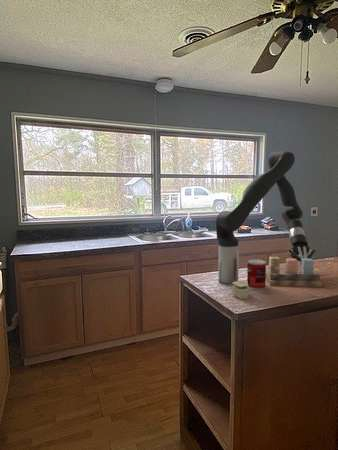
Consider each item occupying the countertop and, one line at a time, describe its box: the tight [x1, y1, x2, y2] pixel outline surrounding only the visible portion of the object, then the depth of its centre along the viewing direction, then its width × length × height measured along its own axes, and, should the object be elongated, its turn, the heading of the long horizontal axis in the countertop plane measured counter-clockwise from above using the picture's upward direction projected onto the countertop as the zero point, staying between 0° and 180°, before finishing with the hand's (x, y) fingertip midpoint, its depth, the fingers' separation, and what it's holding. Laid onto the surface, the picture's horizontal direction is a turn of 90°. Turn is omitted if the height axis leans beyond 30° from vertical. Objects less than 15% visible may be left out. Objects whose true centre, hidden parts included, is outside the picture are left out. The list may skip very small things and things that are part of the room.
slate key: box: [300, 258, 315, 274], centre depth 130 cm, size 4×4×8 cm
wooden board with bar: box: [266, 271, 324, 288], centre depth 132 cm, size 22×16×4 cm
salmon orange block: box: [285, 258, 299, 274], centre depth 131 cm, size 4×4×8 cm
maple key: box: [268, 256, 281, 274], centre depth 135 cm, size 4×4×8 cm
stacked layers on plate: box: [231, 280, 250, 300], centre depth 114 cm, size 10×9×6 cm
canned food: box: [246, 259, 267, 289], centre depth 126 cm, size 8×8×11 cm
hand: (305, 267), depth 133 cm, fingers closed
